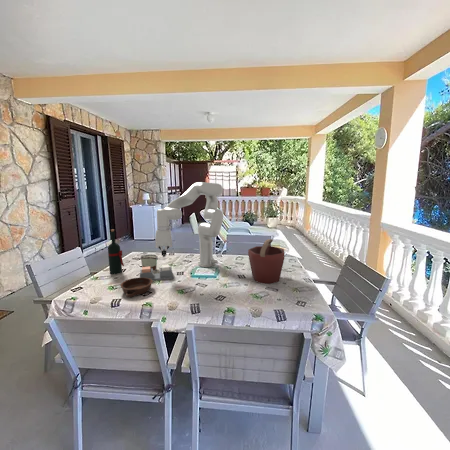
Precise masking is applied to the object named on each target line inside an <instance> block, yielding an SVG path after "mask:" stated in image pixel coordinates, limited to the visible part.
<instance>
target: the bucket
mask: <svg viewBox="0 0 450 450" xmlns="http://www.w3.org/2000/svg"><path fill="white" fill-rule="evenodd" d="M273 241H274V239H272V238H268V239H266V240H265V241H264V242H263V244H262V246H261V245H260V246H253V247H251V248H249V249H248V250H247V255H248V260H249V265H250V271H251V275H252V279H253V280H255V282H256V283H259V284H260V283H261V284H267V285H271V284H274V283H275V284H276V283H279V282H280V280H281V279H280V278H281V274H282V270H283V267H284V261H285V249H284V248H282V247H281V248H280V247H276V246H272V245H271V243H272V242H273Z"/></svg>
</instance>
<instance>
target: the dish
mask: <svg viewBox="0 0 450 450" xmlns="http://www.w3.org/2000/svg"><path fill="white" fill-rule="evenodd" d="M153 281H154V280H153ZM153 281H152V279H150V278H144V277H141V278H139V277H133V278H130V279H126V280H124V281H123V282H121V284H120V285H119V286H120V288H121V289H122V291H123V293H124V295H125V296H126V298H132V297H135V296H140V295H143V294H145V293H147V292H149V291H150V290H151V287H152V284H153V283H154V282H153Z"/></svg>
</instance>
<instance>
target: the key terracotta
mask: <svg viewBox="0 0 450 450" xmlns="http://www.w3.org/2000/svg"><path fill="white" fill-rule="evenodd" d="M141 269H142V273H146V272H151V269H150V266H149V267H142V266H141Z"/></svg>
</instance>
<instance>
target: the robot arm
mask: <svg viewBox="0 0 450 450" xmlns="http://www.w3.org/2000/svg"><path fill="white" fill-rule="evenodd" d="M223 191H224V189H223V186H222V184H220V183H216V182H215V183H214V182H206V181H204V182H203V181H197V182H194V183H193V184H192V185H191V186H190V187H189V188H188V189H187V190H186V191H184V193H183V194H182V195H180V196H178V197H177V198H175V199H173V200H172V201H170V202H169V203H168V205H167V206H166V207H164V208H158V209H157V210H156V226H157V229H156V230H155V236H154V237H155V239H154V240H155V241H154V242H155V247H154V248H155V249H159V250H161V251H160V252H161V256H162V258H166V256H167V251H168V249H170V248H172V247H173V238H172V236H173V235H172V231H171V229H172V226H171V225H170V221H177V220H180V219H182V216H183V212H182V211H181V208H184V207H187V206H190V205H193V203H194V202H195V201H196V200H197V199H198V198H199V197H200V196H201V195H204V196H205V198H206V203H205V208H204V212H203V219H204V220H205V221H204V222H201V223H200V224H199V225H198V227H197V232H198V239H199V261H198V263H197V265H198V266H199V267H201V268H202V267H203V268H209V267H213V266H215V264H218V263H219V261H218V259H217V260H216V259H215V258H214V256H213V255H214V254H213V250H214V249H213V248H214V247H213V238H217V237H218V236H219V235H220V232H221V229H222V226H223V225H222V224H223V222H224V221H223V220H224V213H223V211H222V210H221V209H218V205H219V200H218V197H219V196H221V195H222V194H223ZM217 196H218V197H217ZM206 221H208V222H206Z"/></svg>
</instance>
